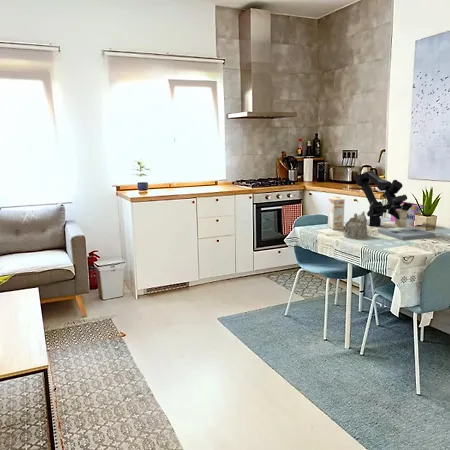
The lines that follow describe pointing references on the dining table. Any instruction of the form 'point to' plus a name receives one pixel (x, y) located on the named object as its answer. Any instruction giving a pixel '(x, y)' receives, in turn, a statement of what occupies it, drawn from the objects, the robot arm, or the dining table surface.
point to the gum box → (410, 213)
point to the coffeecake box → (336, 213)
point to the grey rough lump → (356, 227)
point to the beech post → (401, 219)
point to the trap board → (406, 233)
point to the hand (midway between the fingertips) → (402, 218)
